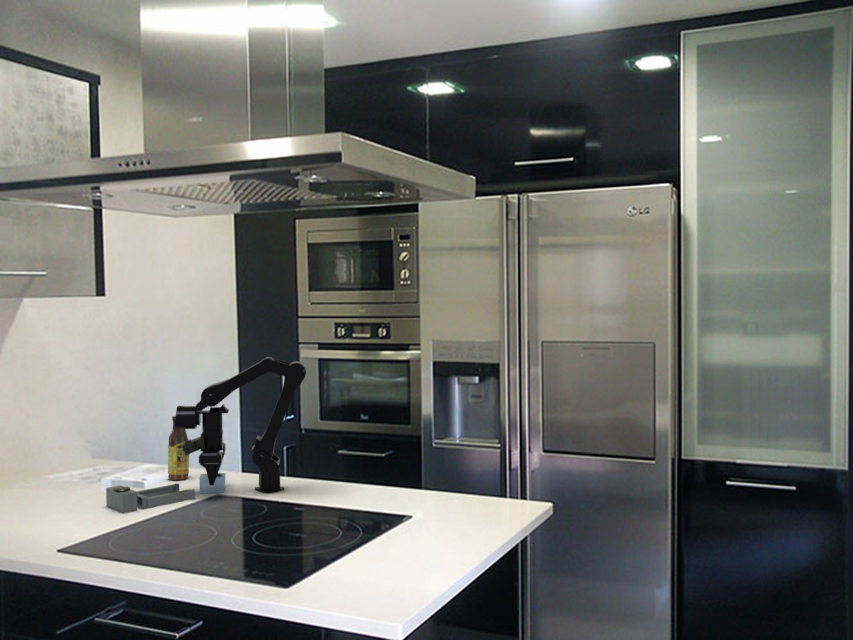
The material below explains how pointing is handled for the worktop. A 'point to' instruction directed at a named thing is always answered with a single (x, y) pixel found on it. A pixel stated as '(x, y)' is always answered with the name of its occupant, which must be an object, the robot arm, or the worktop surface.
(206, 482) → the block
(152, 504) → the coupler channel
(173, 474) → the sauce bottle
